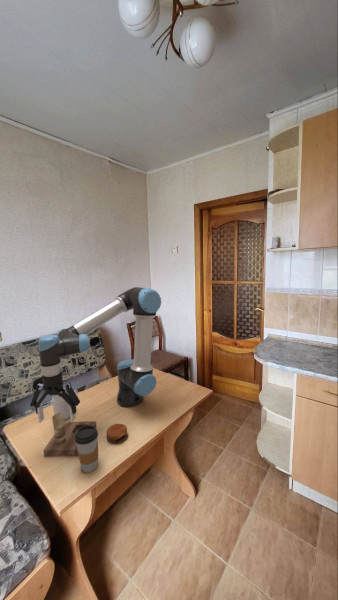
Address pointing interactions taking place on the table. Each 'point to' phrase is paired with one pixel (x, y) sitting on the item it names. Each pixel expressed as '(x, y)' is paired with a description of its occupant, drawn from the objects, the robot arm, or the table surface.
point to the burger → (117, 433)
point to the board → (66, 440)
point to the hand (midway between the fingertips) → (57, 420)
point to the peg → (59, 428)
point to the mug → (61, 406)
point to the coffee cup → (87, 447)
